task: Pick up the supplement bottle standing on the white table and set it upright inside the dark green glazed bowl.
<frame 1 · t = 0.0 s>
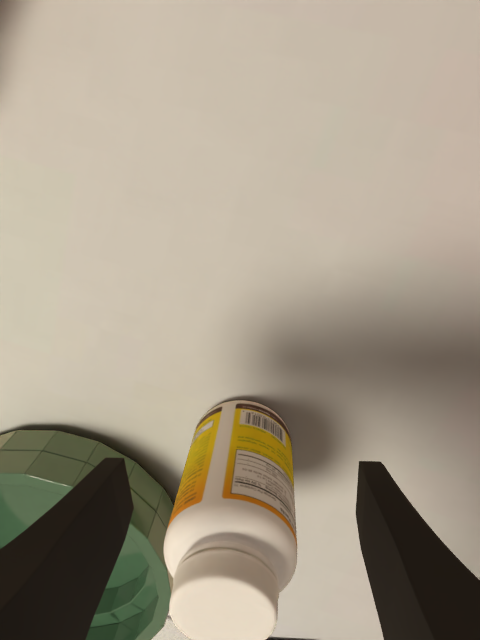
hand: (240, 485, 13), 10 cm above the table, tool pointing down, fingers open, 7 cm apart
bowl: (70, 520, 29), on the table
supplement bottle: (244, 434, 25), on the table
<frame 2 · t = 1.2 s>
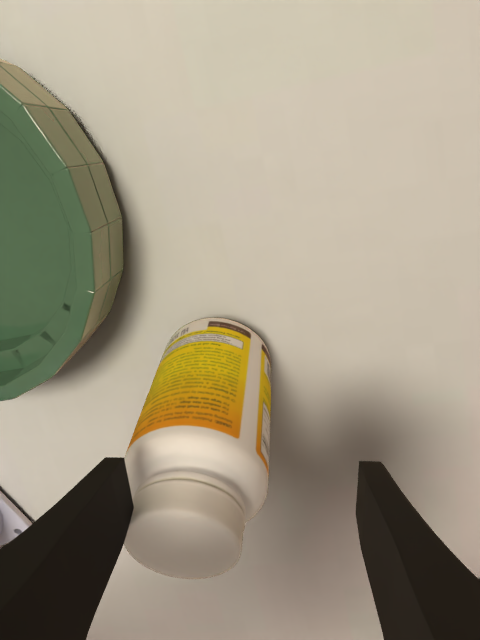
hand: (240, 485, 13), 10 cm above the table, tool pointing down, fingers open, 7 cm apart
supplement bottle: (219, 355, 23), on the table
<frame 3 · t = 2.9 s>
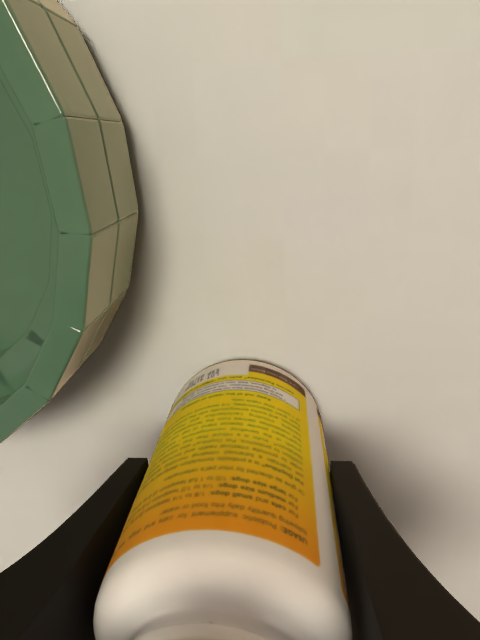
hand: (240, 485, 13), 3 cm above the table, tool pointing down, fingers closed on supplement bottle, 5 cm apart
supplement bottle: (247, 415, 16), on the table, touching gripper
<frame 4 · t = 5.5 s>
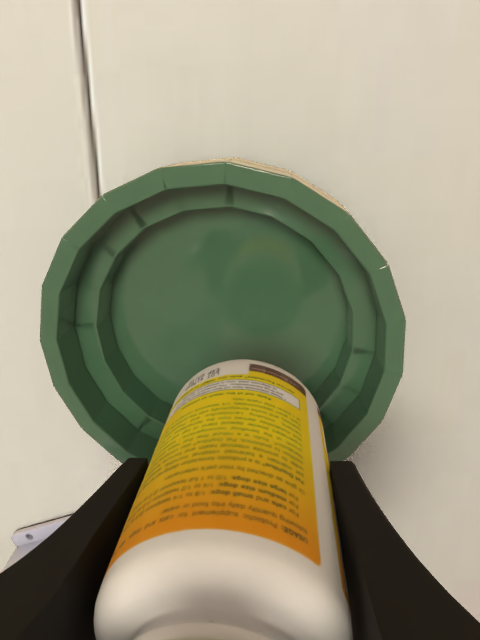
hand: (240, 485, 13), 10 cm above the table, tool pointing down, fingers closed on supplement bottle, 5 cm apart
bowl: (227, 318, 22), on the table
supplement bottle: (247, 415, 16), point 7 cm above the table, touching gripper
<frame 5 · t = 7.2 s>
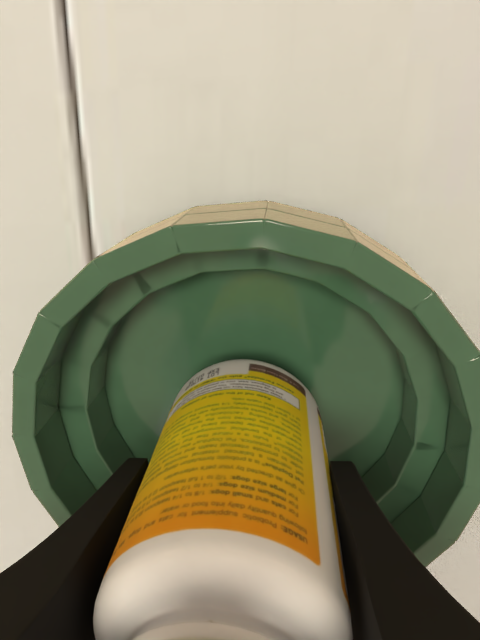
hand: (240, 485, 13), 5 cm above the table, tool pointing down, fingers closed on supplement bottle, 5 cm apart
bowl: (251, 392, 18), on the table
supplement bottle: (247, 414, 16), point 2 cm above the table, touching gripper
when the fingers open (4 cm above the table, at t = 8.2 s): supplement bottle stays where it is, resting on bowl.
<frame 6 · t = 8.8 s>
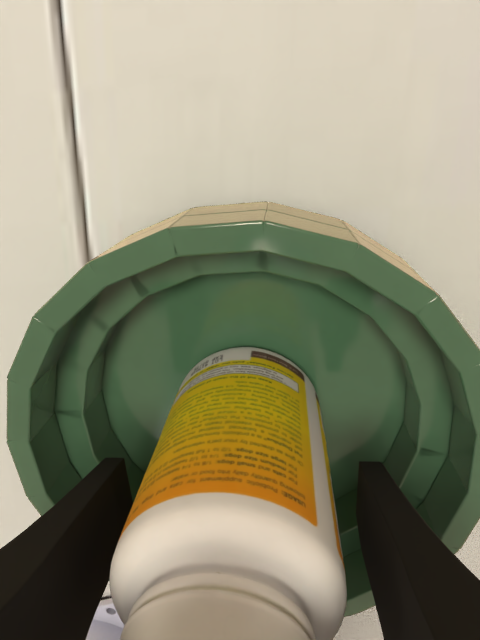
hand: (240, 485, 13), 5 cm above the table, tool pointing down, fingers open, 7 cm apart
bowl: (250, 396, 18), on the table
supplement bottle: (248, 401, 17), resting on bowl
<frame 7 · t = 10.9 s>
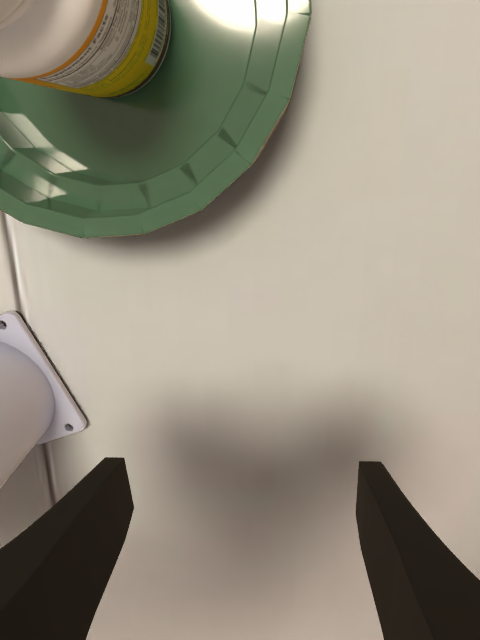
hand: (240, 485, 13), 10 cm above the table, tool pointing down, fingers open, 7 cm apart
bowl: (113, 28, 18), on the table
supplement bottle: (108, 24, 17), resting on bowl
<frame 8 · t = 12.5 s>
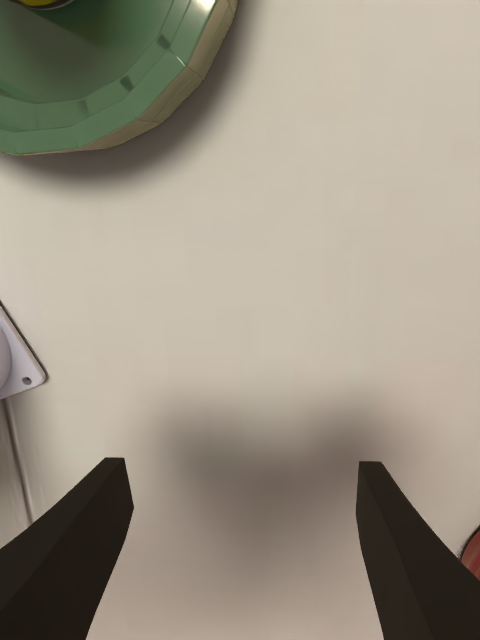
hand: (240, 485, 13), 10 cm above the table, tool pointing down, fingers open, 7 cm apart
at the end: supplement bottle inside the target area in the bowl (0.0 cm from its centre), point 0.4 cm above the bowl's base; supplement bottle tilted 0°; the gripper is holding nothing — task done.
